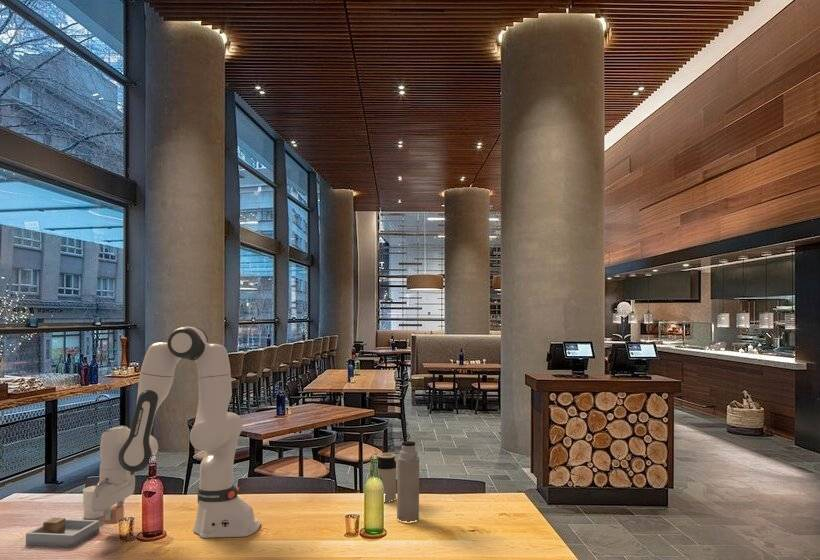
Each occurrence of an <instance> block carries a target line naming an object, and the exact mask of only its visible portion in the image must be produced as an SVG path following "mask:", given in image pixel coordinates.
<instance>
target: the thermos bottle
mask: <svg viewBox="0 0 820 560" xmlns="http://www.w3.org/2000/svg"><path fill="white" fill-rule="evenodd" d="M401 445H402V446H401V450H400V451H399V454H398V455H399V456H397V462H396V520H397V519H399V520H401V521H407V522H410V521H415V520H418V519H420V515H419V514H420V457H419V456H418V454H419V453H418V451H417V450H416V442H415V441H412V440H411V441H410V440H409V441H406V440H405V441H403V442H402V443H401Z"/></svg>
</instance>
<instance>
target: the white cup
mask: <svg viewBox="0 0 820 560" xmlns="http://www.w3.org/2000/svg"><path fill="white" fill-rule="evenodd" d="M96 486H97V485H91V486H87V487H85V488H83V489H82V506H83V519H85V520H96V519H99V518H102V517H104V512H103V511H93V510H92V497H93V491H94V489H95V487H96Z"/></svg>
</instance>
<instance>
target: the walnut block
mask: <svg viewBox="0 0 820 560" xmlns="http://www.w3.org/2000/svg"><path fill="white" fill-rule="evenodd" d="M65 519H66V517H51V518H49V519H47V520H45V521H43V523H42V525H43V533H54V534H62V533H64V532H65Z"/></svg>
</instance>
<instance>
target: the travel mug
mask: <svg viewBox="0 0 820 560" xmlns="http://www.w3.org/2000/svg"><path fill="white" fill-rule="evenodd" d="M395 459H396V454H395V453H392V452H380V453H378V454H377V461H378V473H379V477H380V479H381V480H382V482H383V485H384V490H385V494H386V495H385V502H389V501H391V500H394V499H395V498H396V499H397V462H396V460H395Z"/></svg>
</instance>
